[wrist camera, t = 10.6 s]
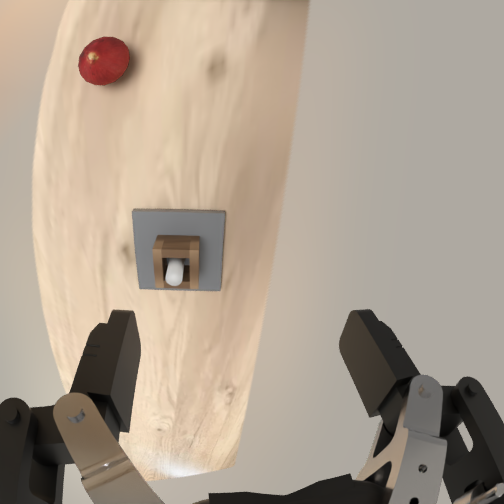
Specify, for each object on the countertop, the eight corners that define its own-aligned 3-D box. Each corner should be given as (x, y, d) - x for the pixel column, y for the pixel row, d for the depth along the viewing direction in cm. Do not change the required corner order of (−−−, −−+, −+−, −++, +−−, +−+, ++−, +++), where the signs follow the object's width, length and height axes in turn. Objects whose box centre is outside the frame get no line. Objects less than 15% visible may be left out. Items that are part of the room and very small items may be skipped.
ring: (157, 234, 37) (152, 249, 33) (199, 235, 38) (198, 250, 34) (159, 271, 40) (155, 287, 36) (199, 272, 40) (198, 289, 37)
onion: (84, 76, 26) (54, 72, 19) (109, 36, 24) (84, 22, 17) (119, 93, 28) (95, 92, 21) (145, 53, 26) (127, 40, 20)
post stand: (133, 208, 36) (119, 231, 30) (224, 210, 38) (227, 233, 32) (140, 285, 41) (131, 315, 35) (220, 287, 43) (222, 318, 37)
